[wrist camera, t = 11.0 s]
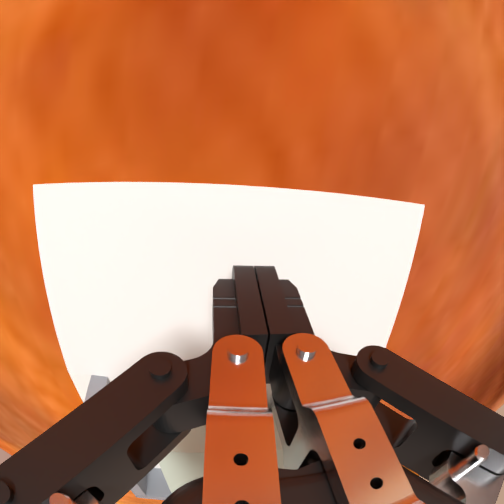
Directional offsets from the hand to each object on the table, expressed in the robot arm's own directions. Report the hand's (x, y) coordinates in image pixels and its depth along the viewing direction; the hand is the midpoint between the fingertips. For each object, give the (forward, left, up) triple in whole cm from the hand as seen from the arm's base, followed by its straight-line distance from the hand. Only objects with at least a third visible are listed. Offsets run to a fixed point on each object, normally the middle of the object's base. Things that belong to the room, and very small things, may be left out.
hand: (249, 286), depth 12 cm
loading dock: (+1, +10, -2) cm, 10 cm away
